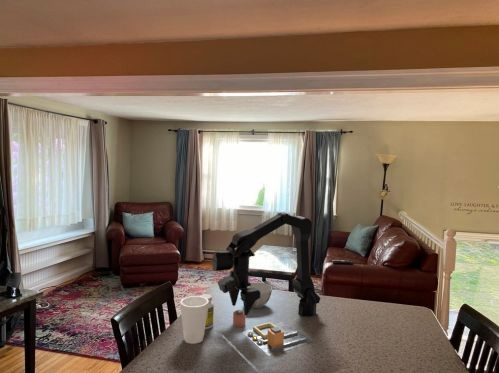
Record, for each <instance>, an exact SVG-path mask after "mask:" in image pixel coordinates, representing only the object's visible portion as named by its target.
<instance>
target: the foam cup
mask: <svg viewBox="0 0 499 373" xmlns="http://www.w3.org/2000/svg"><path fill="white" fill-rule="evenodd" d="M179 302H180V303H179V309H180V314H181V323H182V331H183V332H182V334H183V338H184V339H183V340H184V342H185V343H187V344H192V345H193V344H199V343H201V342H203V340H204V336H205V331H206V329H205V325H206V318H207V312H208V308H209V301H208V299H207V298H205V297H201V296H200V295H192V296H186V297H184V298H182V299H181V300H180V301H179Z"/></svg>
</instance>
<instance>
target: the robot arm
mask: <svg viewBox="0 0 499 373" xmlns="http://www.w3.org/2000/svg"><path fill="white" fill-rule="evenodd" d="M312 221H313V220H311V219H310V218H308V217H304V216H301V215H296V216H293V215H291V214H289V213H286V212H283V211H280V212H278V213H277V214H276V215H274V216H272V217H271V218H269V219H267V220H265V221H263V222H262V223H259V224H258V225H256V226H255V227H253V228H251V229H250V228H249V229H245V230H242V231H239V232H236V233H235V234H234V235H232V239H231V242H229V244H228V245H227V247H226V249H225V250H224V251H220V250H215V251H214V252H213V255H212V259H211V265H212V270H213V271H214V272H221V271H229V272H230V273H229V275H226V276H224V277H223V278H220V279H219V280H217V285H218V288H219V290H220V291H221V292H222V293H223V294H227V293H228V295H229V297H230V302H231V305H232V307H233V306H234V307H235V306H236V304H237V302H238V298H239V295H240V298H239V299H240V300H241V301H242V302H243V311H244V315H245V317H246V316H248V315H249V313H250V312H251V310H252V308H253V307H252V306H253V304H254V303H255V301H256V300H258V299H260V296H261V292H260V291H259V290H257V289H256V288H254V287H252V288H247V286H251V283H252V282H249V277H250V276H251V275H252V271H250V257H255V255H256V254H255V253H254V252H253V251H252V250H251V249H253V247H254V246H255V245H256V244H257V243H258V242H259V241H260V240H261V239H262V238H264V237H265V236H267V235H269V234H271V233H272V232H274V231H276V230H278V229H279V228H281V227H282V226H284V225H288V226H291V230H292V231H291V233H292V234H293V236H294V238H295V247H296V248H295V249H296V262H297V263H296V269H297V270H296V271H297V273H296V274H297V275H296V276H295V278H292V279H291V280H292V289H293V291H294V292H295V293H296V295H297V297H298V298H300V299H299V304H298V309H297V311H298V315H300V316H301V317H314V316H315V315H317V316H320V315H319V314H318V313H317V304H320V301H321V297H320V296H319V295H318V293H316V288H315V283H314V281H313V279H312V277H311V271H310V270H311V268H310V266H311V265H310V246H309V245H310V244H309V239H311V238H310V237H311V235H312V231H313V222H312Z"/></svg>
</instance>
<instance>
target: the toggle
mask: <svg viewBox="0 0 499 373" xmlns="http://www.w3.org/2000/svg"><path fill="white" fill-rule="evenodd" d="M267 343H268V344H269V345H270V346H271V347H275V346H278V345H282V344H284V331H282V330H281V329H279V328H278V327H274V328H271V329H269V330H268V338H267Z"/></svg>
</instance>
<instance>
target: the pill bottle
mask: <svg viewBox="0 0 499 373" xmlns="http://www.w3.org/2000/svg"><path fill="white" fill-rule="evenodd" d="M199 296H201V297H205V298H207V299H208V301H209V308H208V312H207V318H206V325H205V330H208V329H211V328H212V327H213V325H214V308H215V307H214V305H215V303H214V302H213V296H212V295H211V294H209V293H208V294H207V293H204V294H200V295H199Z"/></svg>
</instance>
